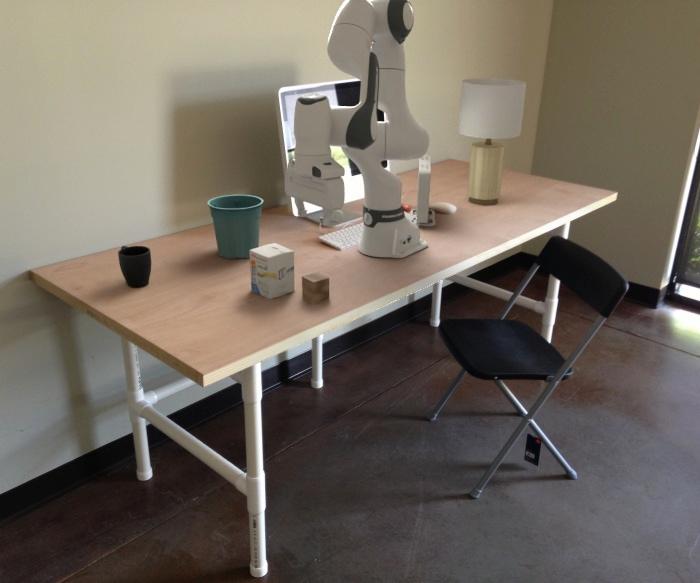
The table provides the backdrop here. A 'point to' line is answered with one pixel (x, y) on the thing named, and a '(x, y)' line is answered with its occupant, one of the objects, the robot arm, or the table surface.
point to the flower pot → (236, 224)
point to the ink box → (272, 270)
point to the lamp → (489, 131)
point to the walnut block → (315, 287)
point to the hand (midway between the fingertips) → (313, 220)
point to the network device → (423, 193)
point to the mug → (135, 265)
